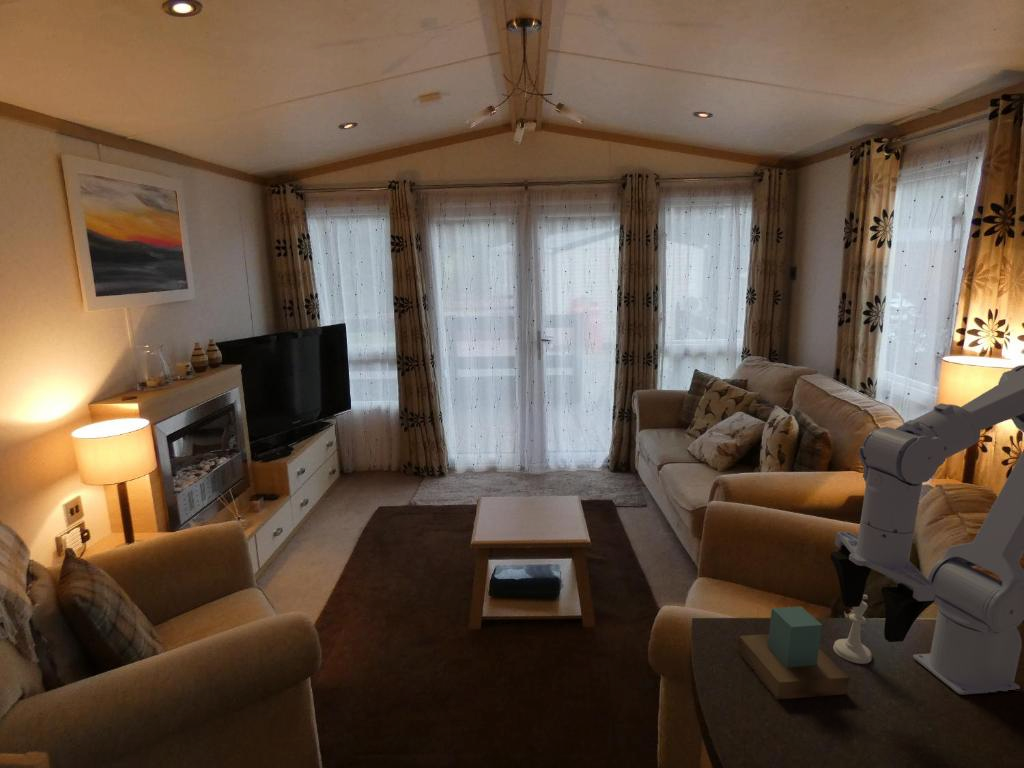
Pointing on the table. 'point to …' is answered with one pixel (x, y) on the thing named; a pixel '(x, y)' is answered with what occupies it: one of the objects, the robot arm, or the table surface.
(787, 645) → the teal block
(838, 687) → the walnut base
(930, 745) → the table surface
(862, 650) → the chess piece
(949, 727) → the table surface
